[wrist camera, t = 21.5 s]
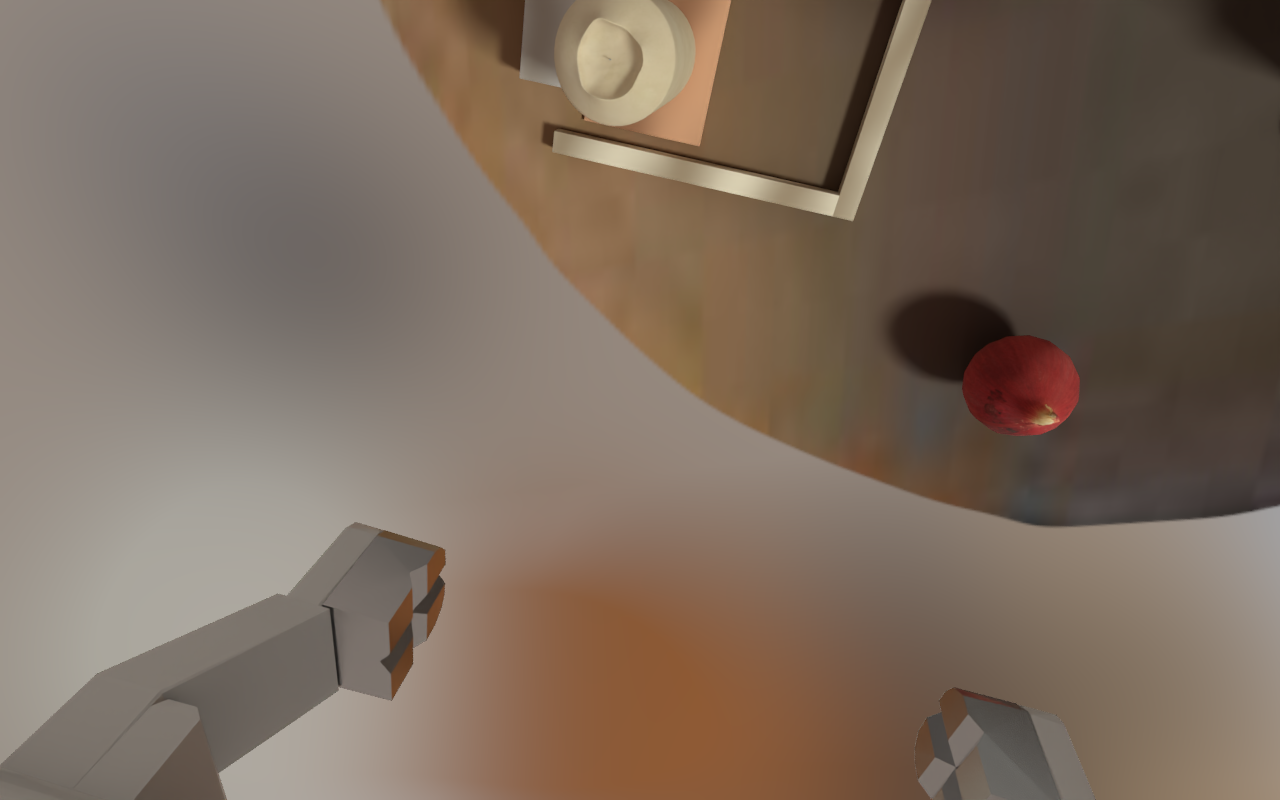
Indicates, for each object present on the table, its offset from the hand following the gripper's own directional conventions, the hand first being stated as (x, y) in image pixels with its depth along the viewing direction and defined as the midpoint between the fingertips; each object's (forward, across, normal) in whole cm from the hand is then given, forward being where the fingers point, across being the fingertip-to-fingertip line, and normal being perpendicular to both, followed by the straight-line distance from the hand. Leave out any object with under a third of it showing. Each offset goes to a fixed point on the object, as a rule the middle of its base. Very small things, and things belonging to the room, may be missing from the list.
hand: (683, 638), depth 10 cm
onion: (+33, -18, +7) cm, 38 cm away
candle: (+33, +8, -6) cm, 34 cm away
